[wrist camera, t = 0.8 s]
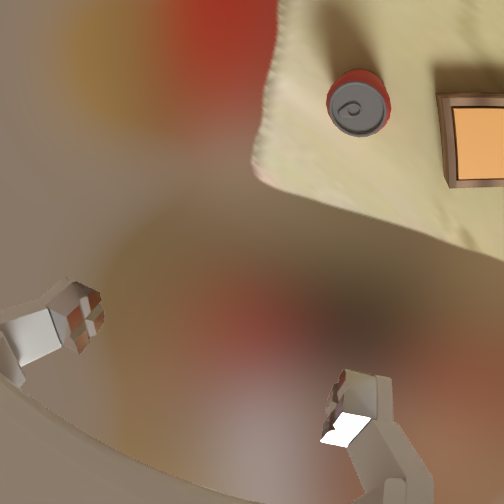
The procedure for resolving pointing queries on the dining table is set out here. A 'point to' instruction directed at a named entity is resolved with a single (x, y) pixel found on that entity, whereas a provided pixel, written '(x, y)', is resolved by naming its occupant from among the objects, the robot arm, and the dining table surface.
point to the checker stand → (448, 138)
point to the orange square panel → (479, 142)
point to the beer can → (358, 103)
